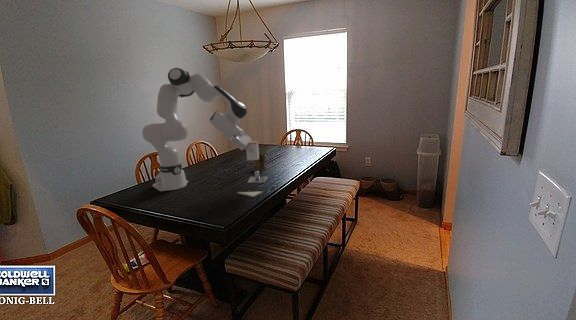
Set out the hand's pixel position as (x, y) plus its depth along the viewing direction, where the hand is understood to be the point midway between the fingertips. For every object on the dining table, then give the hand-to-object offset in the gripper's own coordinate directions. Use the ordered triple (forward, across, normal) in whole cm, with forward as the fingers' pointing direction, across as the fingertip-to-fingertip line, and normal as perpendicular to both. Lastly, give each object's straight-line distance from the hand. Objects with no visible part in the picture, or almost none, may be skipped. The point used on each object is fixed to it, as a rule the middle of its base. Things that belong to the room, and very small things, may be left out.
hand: (253, 150), depth 161 cm
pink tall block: (+3, 0, +4) cm, 5 cm away
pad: (+14, -10, +16) cm, 23 cm away
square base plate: (+15, +8, +16) cm, 23 cm away
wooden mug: (+14, +31, +16) cm, 37 cm away
